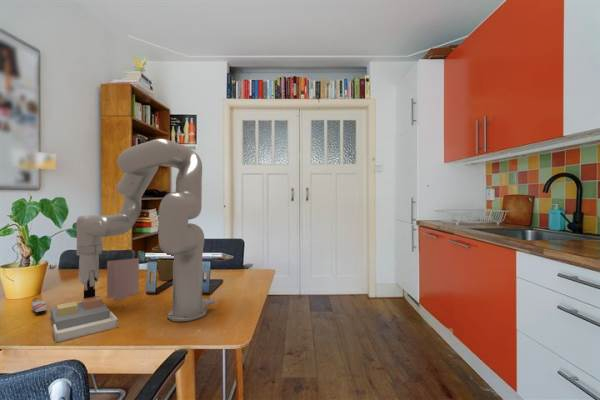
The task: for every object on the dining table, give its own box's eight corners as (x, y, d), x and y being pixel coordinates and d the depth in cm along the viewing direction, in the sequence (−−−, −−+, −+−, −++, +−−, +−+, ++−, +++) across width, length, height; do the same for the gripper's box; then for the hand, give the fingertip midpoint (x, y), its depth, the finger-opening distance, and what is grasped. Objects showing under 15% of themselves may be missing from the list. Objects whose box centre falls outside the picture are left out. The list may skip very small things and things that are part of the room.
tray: (111, 318, 99) (111, 311, 99) (117, 327, 93) (117, 319, 93) (53, 332, 89) (53, 324, 89) (55, 343, 82) (56, 334, 82)
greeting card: (138, 292, 128) (138, 257, 128) (140, 296, 122) (140, 260, 122) (106, 297, 122) (107, 260, 122) (107, 302, 116) (107, 263, 116)
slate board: (99, 307, 110) (99, 299, 110) (109, 319, 99) (109, 310, 99) (50, 317, 101) (50, 308, 101) (55, 332, 89) (55, 322, 89)
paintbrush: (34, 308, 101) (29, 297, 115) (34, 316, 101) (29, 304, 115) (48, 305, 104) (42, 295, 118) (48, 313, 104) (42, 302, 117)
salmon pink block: (99, 302, 106) (99, 295, 106) (102, 306, 103) (102, 298, 103) (82, 305, 103) (82, 298, 103) (84, 309, 99) (84, 302, 99)
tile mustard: (75, 308, 100) (75, 301, 100) (77, 312, 97) (77, 305, 97) (56, 312, 97) (56, 305, 97) (58, 317, 93) (58, 309, 93)
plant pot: (188, 278, 151) (189, 247, 151) (158, 284, 140) (158, 250, 140) (177, 273, 161) (177, 244, 161) (148, 278, 151) (148, 247, 151)
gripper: (73, 248, 110) (73, 298, 110) (79, 253, 99) (79, 308, 99) (98, 246, 115) (97, 293, 115) (106, 251, 104) (106, 303, 104)
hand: (89, 300), depth 107 cm, fingers closed
